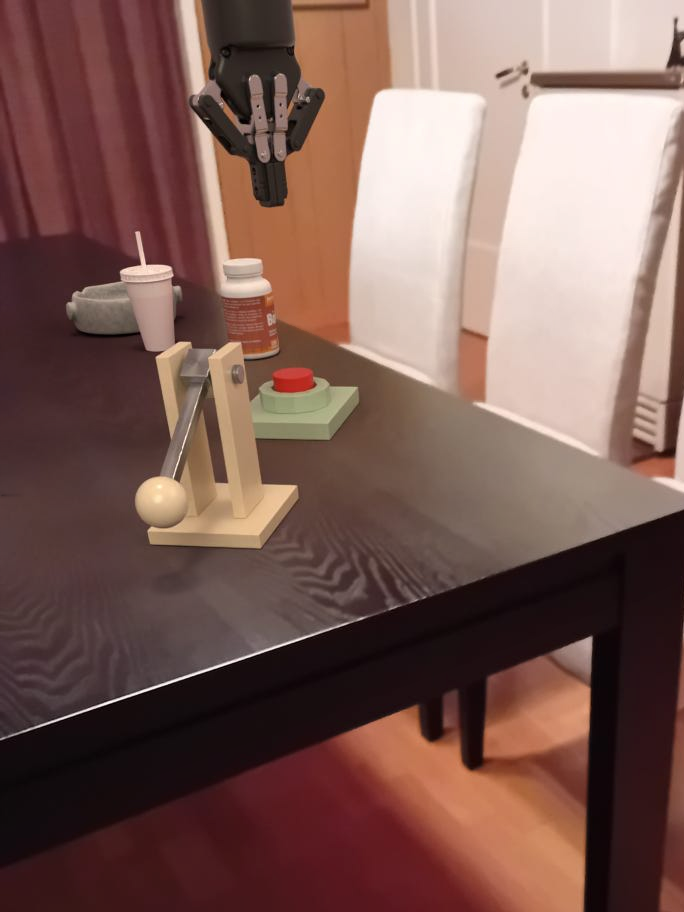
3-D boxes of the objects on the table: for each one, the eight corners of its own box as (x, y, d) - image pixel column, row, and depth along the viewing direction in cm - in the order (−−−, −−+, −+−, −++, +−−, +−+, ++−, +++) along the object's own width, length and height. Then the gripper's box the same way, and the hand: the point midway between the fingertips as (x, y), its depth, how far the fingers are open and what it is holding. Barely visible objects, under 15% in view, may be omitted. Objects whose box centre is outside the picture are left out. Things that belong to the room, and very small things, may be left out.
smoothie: (174, 338, 134) (154, 226, 127) (193, 348, 130) (174, 232, 123) (127, 347, 131) (104, 232, 124) (145, 357, 126) (122, 238, 119)
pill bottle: (282, 357, 124) (270, 263, 119) (232, 363, 123) (217, 267, 117) (277, 345, 130) (265, 254, 124) (228, 350, 128) (214, 258, 123)
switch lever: (189, 539, 70) (170, 508, 67) (140, 537, 71) (120, 507, 68) (237, 377, 78) (222, 342, 75) (193, 376, 78) (176, 341, 75)
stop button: (308, 396, 100) (306, 378, 99) (269, 395, 101) (267, 378, 100) (319, 384, 104) (317, 367, 103) (281, 383, 104) (279, 366, 103)
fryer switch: (260, 548, 77) (233, 369, 70) (149, 544, 78) (111, 367, 71) (299, 498, 85) (278, 333, 78) (198, 495, 87) (168, 332, 80)
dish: (192, 314, 147) (186, 278, 144) (157, 338, 135) (150, 299, 132) (97, 314, 148) (90, 278, 145) (54, 338, 136) (44, 300, 134)
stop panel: (329, 440, 98) (326, 405, 96) (231, 438, 99) (225, 403, 97) (359, 402, 108) (356, 369, 106) (269, 400, 109) (265, 368, 108)
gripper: (288, -14, 91) (310, 195, 99) (151, -15, 83) (187, 211, 92) (335, -19, 86) (354, 201, 94) (193, -21, 78) (228, 218, 87)
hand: (271, 205), depth 93 cm, fingers closed
